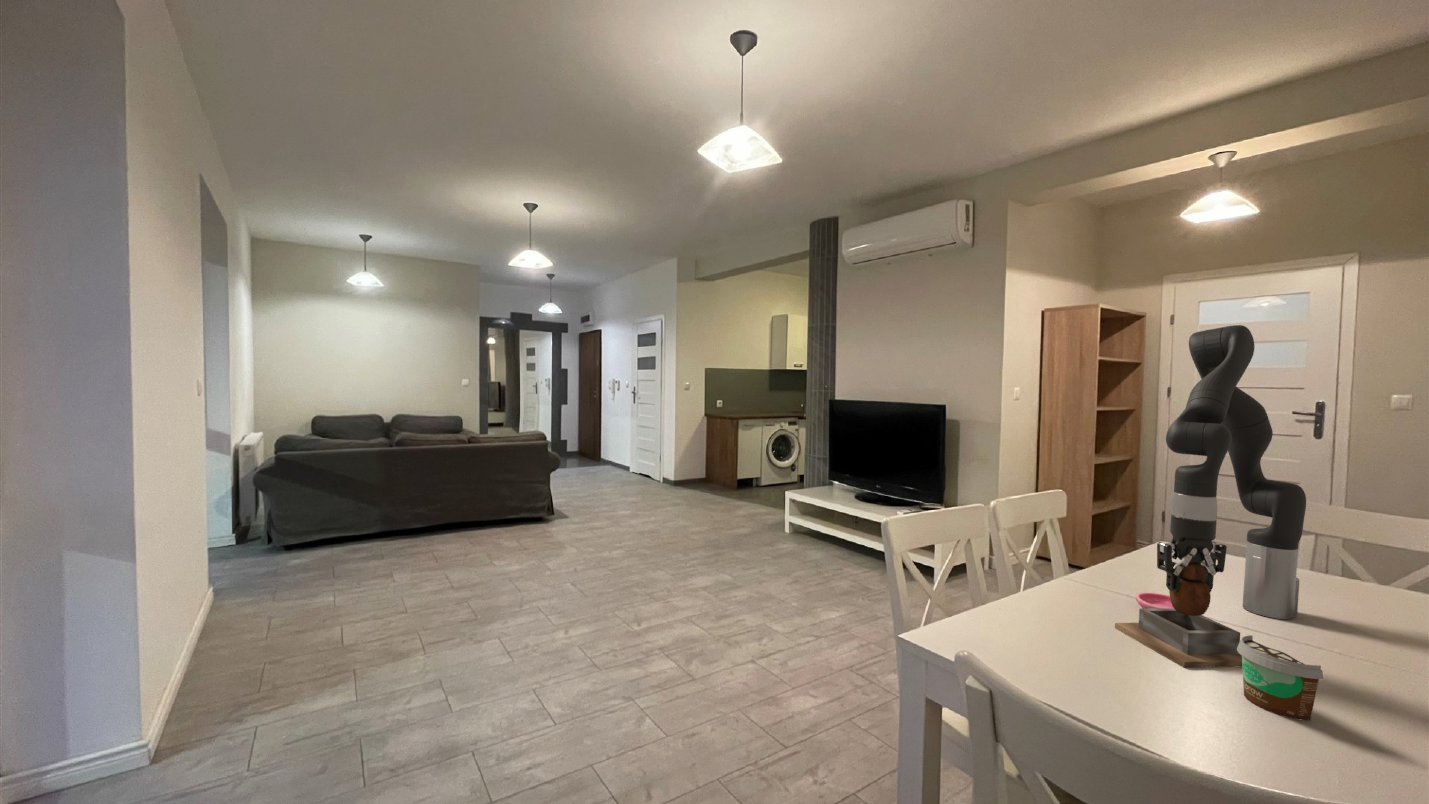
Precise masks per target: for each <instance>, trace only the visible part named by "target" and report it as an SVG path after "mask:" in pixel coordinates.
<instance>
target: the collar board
mask: <svg viewBox="0 0 1429 804" xmlns="http://www.w3.org/2000/svg"><path fill="white" fill-rule="evenodd" d="M1114 628H1115V629H1116V630H1117V629H1118V631H1119V632H1120V633H1123V634H1124V633H1125V634H1124V635H1126V636H1128V637H1130V638H1132V639H1133V640H1135V641H1137V642H1138V641H1139V642H1138V643H1140V644H1141V645H1143V646H1146V647H1147V648H1149V649H1151V650H1153V651H1154V652H1155V653H1158V654H1160V655H1162V656H1163V657H1164V658H1166V659H1168V660H1170V661H1172V663H1175V664H1177V665H1178V666H1180V667H1182V668H1183V669H1184V668H1186V669H1187V668H1191V669H1192V668H1193V669H1194V668H1243V666H1242V655H1241V654H1239V652H1238V651H1237V647H1238V644H1239V642H1240V640H1241V632H1240V631H1238V630H1235V629H1233V628H1231V627H1229V626H1226V625H1224V624H1222V623H1220V622H1218V621H1215V620H1213V619H1211V618H1209V617H1207V616H1204V615H1200V616H1190V615H1186V614H1182V613H1180V612H1178V611H1176V610H1175V609H1174V608H1168V609H1143V608H1139V612H1138V622H1115V623H1114Z"/></svg>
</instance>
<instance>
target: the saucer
mask: <svg viewBox="0 0 1429 804" xmlns="http://www.w3.org/2000/svg"><path fill="white" fill-rule="evenodd" d="M1135 601H1136V602H1137V603H1138V605H1139V606H1140V607H1141V609H1168V608H1173V606H1172V604H1171V600H1170V594H1163V593H1156V592H1140V593H1136V596H1135Z"/></svg>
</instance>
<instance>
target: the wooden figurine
mask: <svg viewBox="0 0 1429 804" xmlns="http://www.w3.org/2000/svg"><path fill="white" fill-rule="evenodd" d="M1179 576H1180V586H1179V592H1173V591H1170V590H1169V589H1168V590H1169V591H1168V592H1169V593H1168V594H1169V596H1170V600H1171V604H1172V606H1173V608H1174V609H1175V610H1176V611H1178V612H1180V613H1182V614H1186V615H1190V616H1200V615H1202V616H1204V614H1205V613H1206V612H1207V611H1208V609H1209V607H1210V603H1211V592H1210V589H1209V586H1208V585H1207V584H1206V583H1205V582H1204V581H1202V580H1203V579H1204V578H1205V568H1204V566H1203V565H1201V563H1197V562H1193V563H1188V565H1187V566H1186V567H1184V568H1183V569H1182V570H1181V572H1180V574H1179Z"/></svg>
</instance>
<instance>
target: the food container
mask: <svg viewBox="0 0 1429 804" xmlns="http://www.w3.org/2000/svg"><path fill="white" fill-rule="evenodd" d="M1237 651H1238V652H1239V654H1241V655H1242V666H1243V667H1242V682H1243V683H1242V685H1243V696H1244V698H1245V699H1246V700H1247V701H1248V702H1250V703H1251V704H1252V705H1254V706H1256V707H1257V708H1260V709H1262V710H1264V711H1267V712H1270V713H1272V714H1275V715H1278V716H1281V717H1285V718H1289V719H1294V720H1299V719H1302V720H1301V721H1311V719H1312V715H1313V710H1314V703H1315V700H1316V695H1317V690H1318V685H1319V680H1324V671H1323V670H1322V666H1321V665H1317V664H1316V665H1314V664H1306V663H1303V662H1301V661H1300V660H1297V659H1296V658H1295V657H1293V656H1291V655H1290V654H1287V653H1285V652H1283V651H1281V650H1277V649H1274V648H1271V647H1269V646H1266V645H1263V644H1261V643H1258V642H1256V641H1255V640H1254V639H1253V635H1252V634H1251V635H1244V636H1243V637H1242V638H1241V639H1240V642H1239V644H1238V647H1237Z"/></svg>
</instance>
